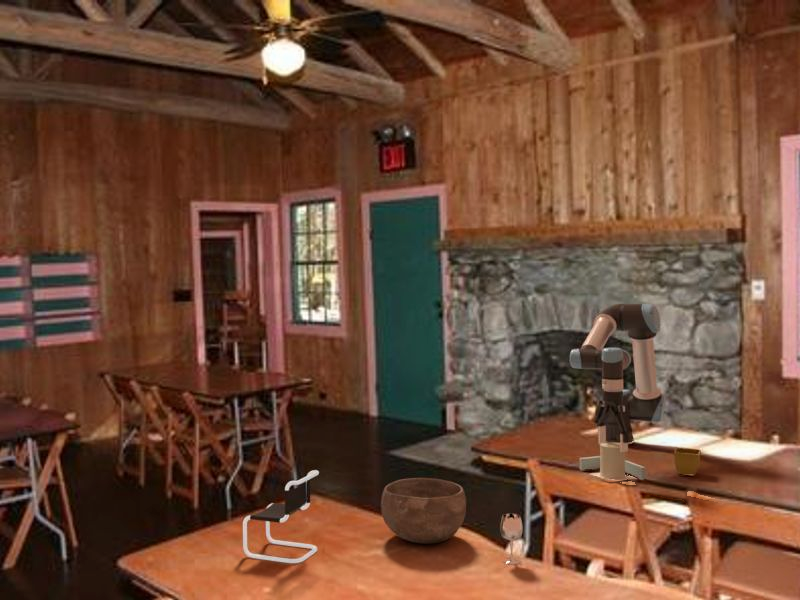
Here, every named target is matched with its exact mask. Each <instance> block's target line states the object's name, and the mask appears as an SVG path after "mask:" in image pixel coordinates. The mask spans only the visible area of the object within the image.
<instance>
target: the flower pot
mask: <svg viewBox="0 0 800 600" xmlns="http://www.w3.org/2000/svg"><path fill="white" fill-rule="evenodd" d="M701 451H702V450H701V449H698V448H697V449H696V448H685V447H676V448H675V449H674V452H673V453H674V454H673V456H674V465H675V469H676V471H677V473H678V474H679V473H680V474H695V475H696V473H697V472H698V469H699V465H700V461H701V453H702V452H701Z"/></svg>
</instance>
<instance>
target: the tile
mask: <svg viewBox="0 0 800 600" xmlns="http://www.w3.org/2000/svg"><path fill="white" fill-rule="evenodd" d="M588 475H589V476H590V475H593V476H597V477H601V476H600V472H592V473H589V474H588ZM601 478H604V477H601ZM627 479H636V480H637V478H635V477H633V476H630V475H629V476H626V477H625V478H622V479H615V480H627Z"/></svg>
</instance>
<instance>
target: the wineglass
mask: <svg viewBox="0 0 800 600" xmlns="http://www.w3.org/2000/svg"><path fill="white" fill-rule="evenodd" d="M499 528H500V534H501V536H502V538H503V539H505V540H506V541H509V548H510V549H509V550H510V556H509V557H508V558H504V559H503V560H502V562H503V563H504V564H507V565H518V564H520V563H521V560H520V559H519V558H514V556H513V548H514V542H513V541H517V540H519V539H520V538H521V537H522V534H523V521H522V517H521V516H520V515H519V514H517V513H505V514H502V516H501V521H500V526H499Z"/></svg>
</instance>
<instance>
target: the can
mask: <svg viewBox="0 0 800 600" xmlns="http://www.w3.org/2000/svg"><path fill="white" fill-rule="evenodd" d="M599 454H600V455H599V456H600V469H599V473H600V476H601V477H604V478H609V479H622V478H625V477H626V475H625V460H626V451H625V452H620V443H615V442H605V443H601V444H599Z"/></svg>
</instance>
